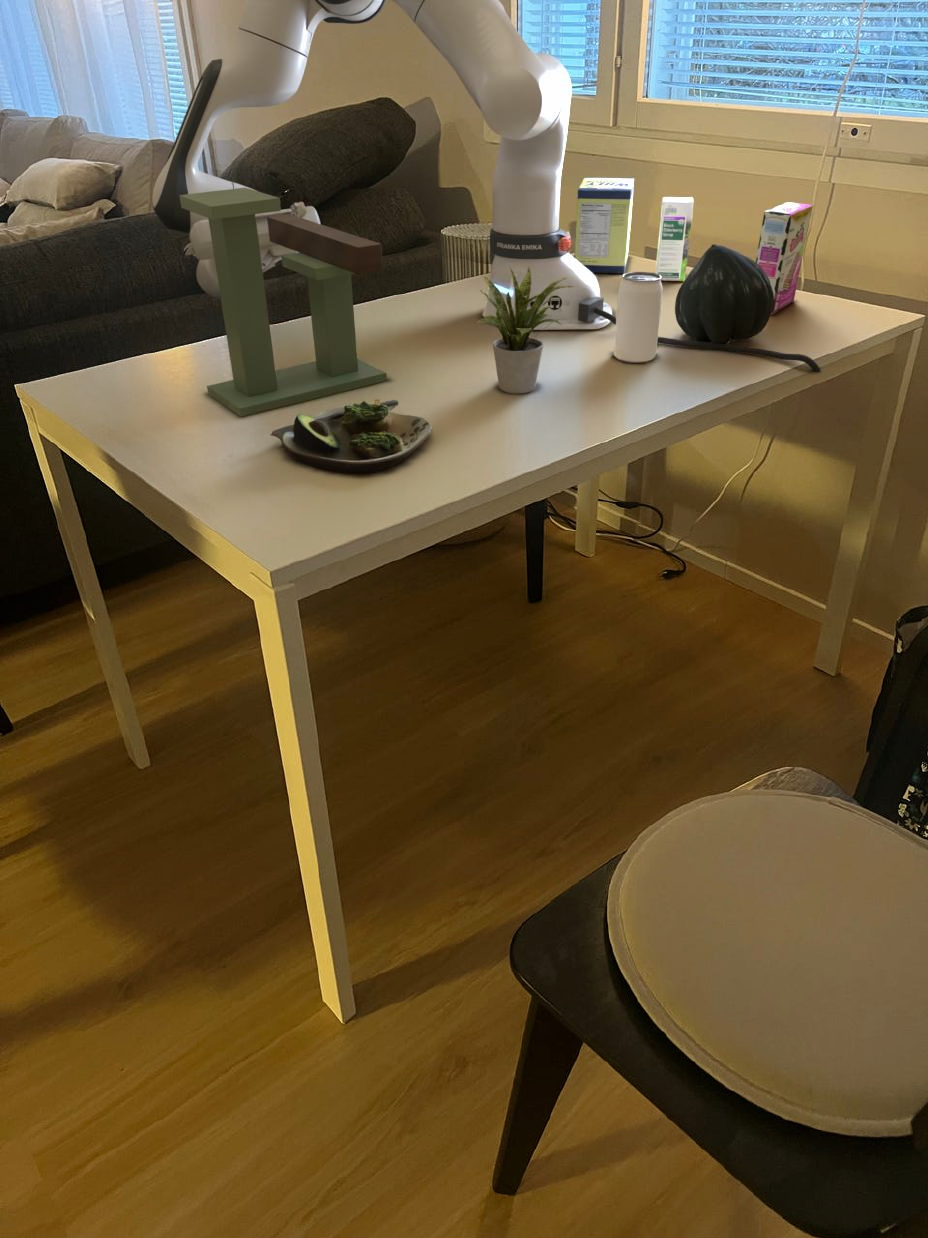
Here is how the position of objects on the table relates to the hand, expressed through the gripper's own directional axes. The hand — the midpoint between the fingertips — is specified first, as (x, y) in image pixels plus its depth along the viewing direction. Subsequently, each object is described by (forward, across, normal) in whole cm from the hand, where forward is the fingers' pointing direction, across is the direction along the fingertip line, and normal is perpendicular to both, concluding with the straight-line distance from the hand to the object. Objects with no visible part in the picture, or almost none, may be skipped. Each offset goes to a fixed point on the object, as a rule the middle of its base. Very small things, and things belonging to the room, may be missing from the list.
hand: (271, 210), depth 135 cm
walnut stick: (+11, 0, +10) cm, 15 cm away
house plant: (+21, +18, +36) cm, 46 cm away
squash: (+22, +58, +37) cm, 72 cm away
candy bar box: (+16, +80, +33) cm, 88 cm away
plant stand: (+3, -6, +26) cm, 27 cm away
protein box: (-20, +78, +12) cm, 82 cm away
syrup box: (-6, +81, +21) cm, 84 cm away
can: (+21, +41, +36) cm, 58 cm away
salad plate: (+23, -11, +38) cm, 45 cm away
